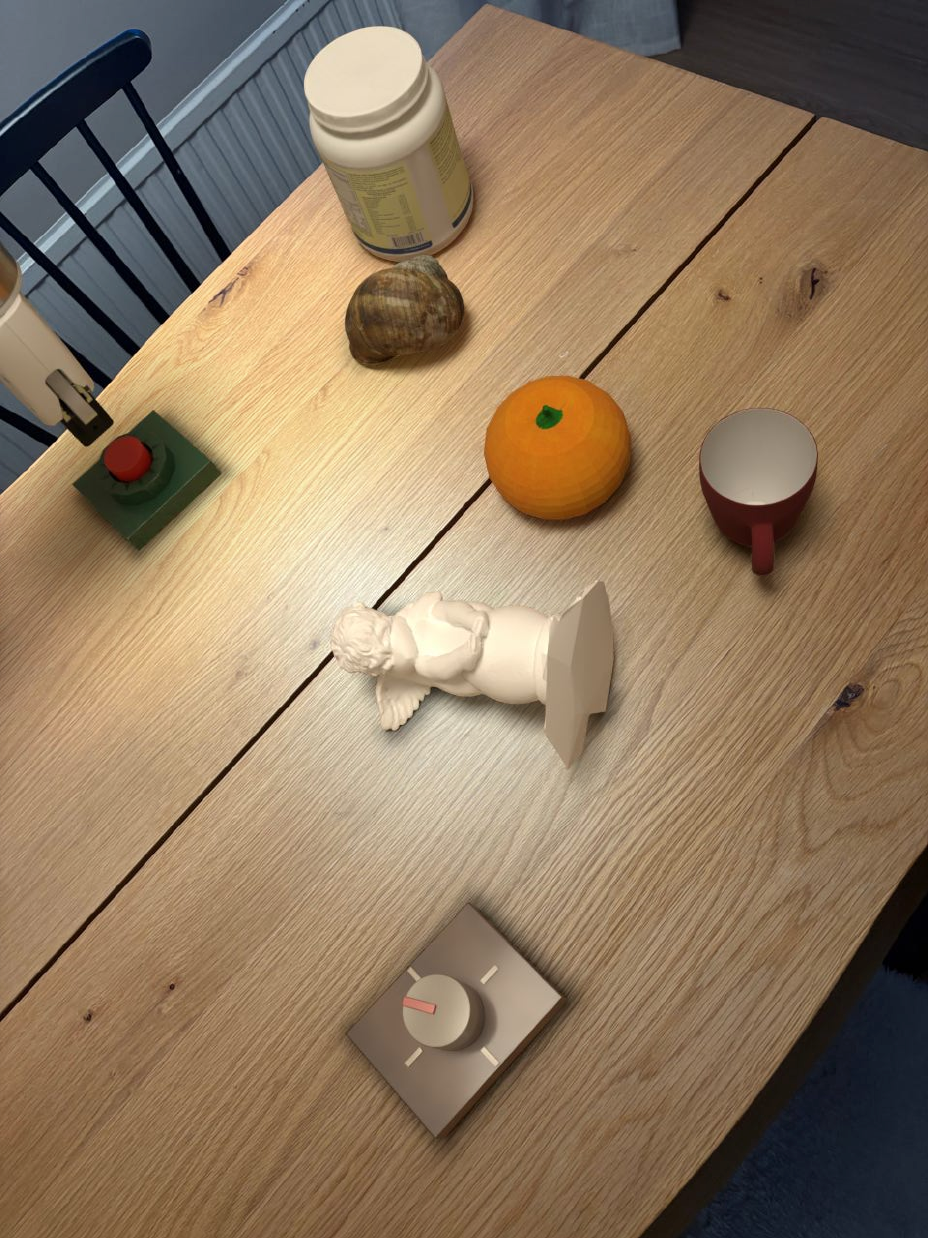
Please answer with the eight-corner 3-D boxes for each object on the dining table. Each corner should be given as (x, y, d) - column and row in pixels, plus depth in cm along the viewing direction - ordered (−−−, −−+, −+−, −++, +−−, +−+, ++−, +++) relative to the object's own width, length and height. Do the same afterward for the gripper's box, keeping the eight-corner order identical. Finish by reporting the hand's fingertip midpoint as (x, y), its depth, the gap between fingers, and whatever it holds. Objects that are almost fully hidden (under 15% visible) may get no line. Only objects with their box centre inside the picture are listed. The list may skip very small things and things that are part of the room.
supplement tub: (425, 150, 109) (376, -4, 94) (502, 210, 104) (463, 57, 89) (330, 224, 108) (265, 80, 93) (403, 289, 103) (347, 147, 88)
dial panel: (444, 1138, 72) (434, 1139, 70) (356, 1036, 76) (344, 1033, 74) (568, 1000, 74) (562, 997, 72) (475, 907, 78) (467, 901, 76)
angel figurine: (382, 696, 91) (368, 554, 88) (616, 719, 84) (613, 565, 80) (298, 766, 80) (279, 605, 76) (563, 801, 72) (556, 623, 68)
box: (139, 551, 97) (116, 529, 94) (84, 496, 101) (60, 473, 97) (221, 473, 99) (202, 449, 95) (164, 422, 102) (143, 397, 99)
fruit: (658, 499, 88) (650, 430, 79) (523, 557, 88) (500, 495, 80) (601, 391, 93) (587, 315, 84) (474, 447, 94) (447, 378, 85)
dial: (491, 990, 73) (477, 982, 69) (475, 1059, 72) (458, 1056, 67) (430, 973, 74) (411, 965, 70) (412, 1041, 73) (392, 1036, 69)
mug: (828, 588, 82) (840, 524, 73) (719, 608, 83) (718, 548, 74) (795, 469, 86) (803, 395, 77) (692, 490, 88) (688, 420, 79)
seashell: (482, 298, 100) (463, 236, 93) (456, 384, 97) (434, 326, 90) (369, 290, 103) (342, 230, 96) (340, 372, 100) (310, 316, 93)
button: (129, 489, 96) (119, 479, 94) (106, 467, 97) (96, 457, 96) (159, 461, 96) (150, 450, 95) (136, 439, 98) (126, 429, 96)
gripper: (-133, 265, 78) (15, 415, 94) (-29, 368, 71) (111, 510, 87) (-51, 197, 79) (81, 357, 95) (59, 292, 72) (181, 446, 89)
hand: (95, 430), depth 91 cm, fingers closed
